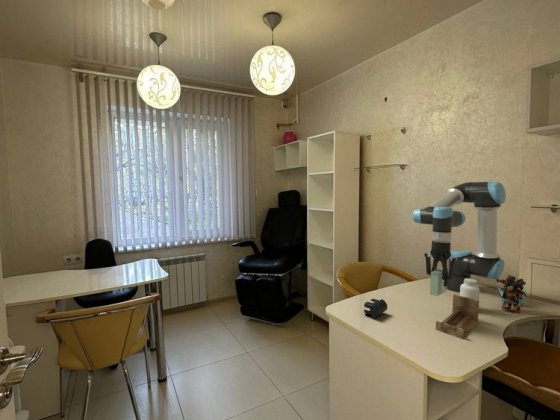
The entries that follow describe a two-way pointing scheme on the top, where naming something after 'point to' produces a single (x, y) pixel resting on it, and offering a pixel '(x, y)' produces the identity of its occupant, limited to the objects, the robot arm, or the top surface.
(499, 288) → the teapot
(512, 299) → the figurine
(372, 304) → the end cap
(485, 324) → the top surface
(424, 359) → the top surface
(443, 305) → the top surface
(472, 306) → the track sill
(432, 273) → the door panel
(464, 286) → the pill bottle
